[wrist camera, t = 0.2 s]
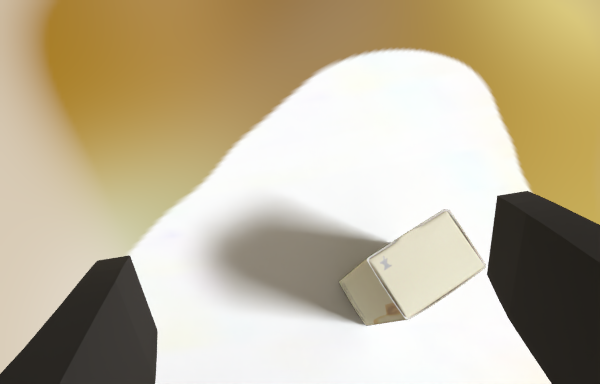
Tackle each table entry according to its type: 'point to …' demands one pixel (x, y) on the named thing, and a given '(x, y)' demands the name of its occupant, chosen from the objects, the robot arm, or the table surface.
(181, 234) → the table surface
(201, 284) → the table surface
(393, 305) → the skincare box
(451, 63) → the table surface
